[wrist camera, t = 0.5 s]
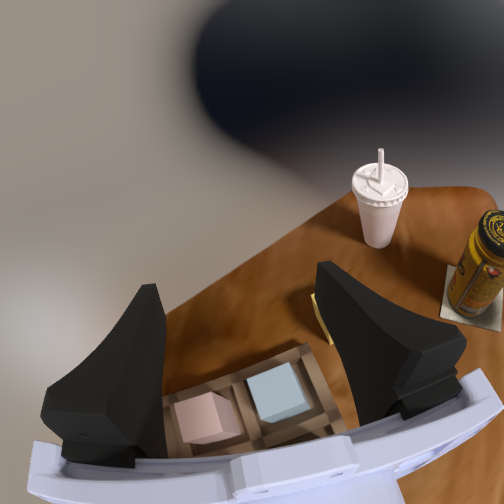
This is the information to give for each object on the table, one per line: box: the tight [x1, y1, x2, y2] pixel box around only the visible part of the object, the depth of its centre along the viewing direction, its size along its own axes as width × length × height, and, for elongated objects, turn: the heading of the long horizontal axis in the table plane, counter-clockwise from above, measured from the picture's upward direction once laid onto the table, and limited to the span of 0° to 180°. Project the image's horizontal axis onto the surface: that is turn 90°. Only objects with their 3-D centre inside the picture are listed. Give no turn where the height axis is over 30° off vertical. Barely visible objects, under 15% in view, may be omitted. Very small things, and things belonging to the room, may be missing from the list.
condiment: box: [440, 210, 504, 332], centre depth 23 cm, size 7×8×12 cm
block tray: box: [162, 342, 348, 459], centre depth 25 cm, size 16×24×2 cm
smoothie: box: [352, 148, 408, 248], centre depth 31 cm, size 6×6×14 cm
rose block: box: [174, 392, 241, 445], centre depth 26 cm, size 4×4×5 cm
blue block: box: [247, 362, 311, 424], centre depth 25 cm, size 4×4×5 cm
